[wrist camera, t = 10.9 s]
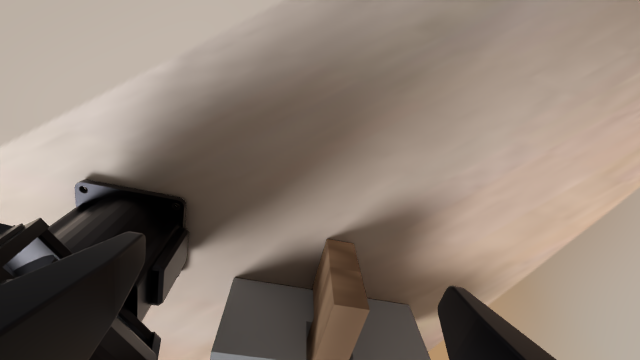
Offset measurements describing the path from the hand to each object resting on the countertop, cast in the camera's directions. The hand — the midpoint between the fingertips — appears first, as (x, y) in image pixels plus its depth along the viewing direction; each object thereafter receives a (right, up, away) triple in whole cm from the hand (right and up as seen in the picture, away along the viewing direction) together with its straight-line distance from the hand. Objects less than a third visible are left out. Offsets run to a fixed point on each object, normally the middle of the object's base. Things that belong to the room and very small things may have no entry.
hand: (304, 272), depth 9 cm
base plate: (+1, -7, +15) cm, 17 cm away
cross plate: (0, -7, +15) cm, 17 cm away
